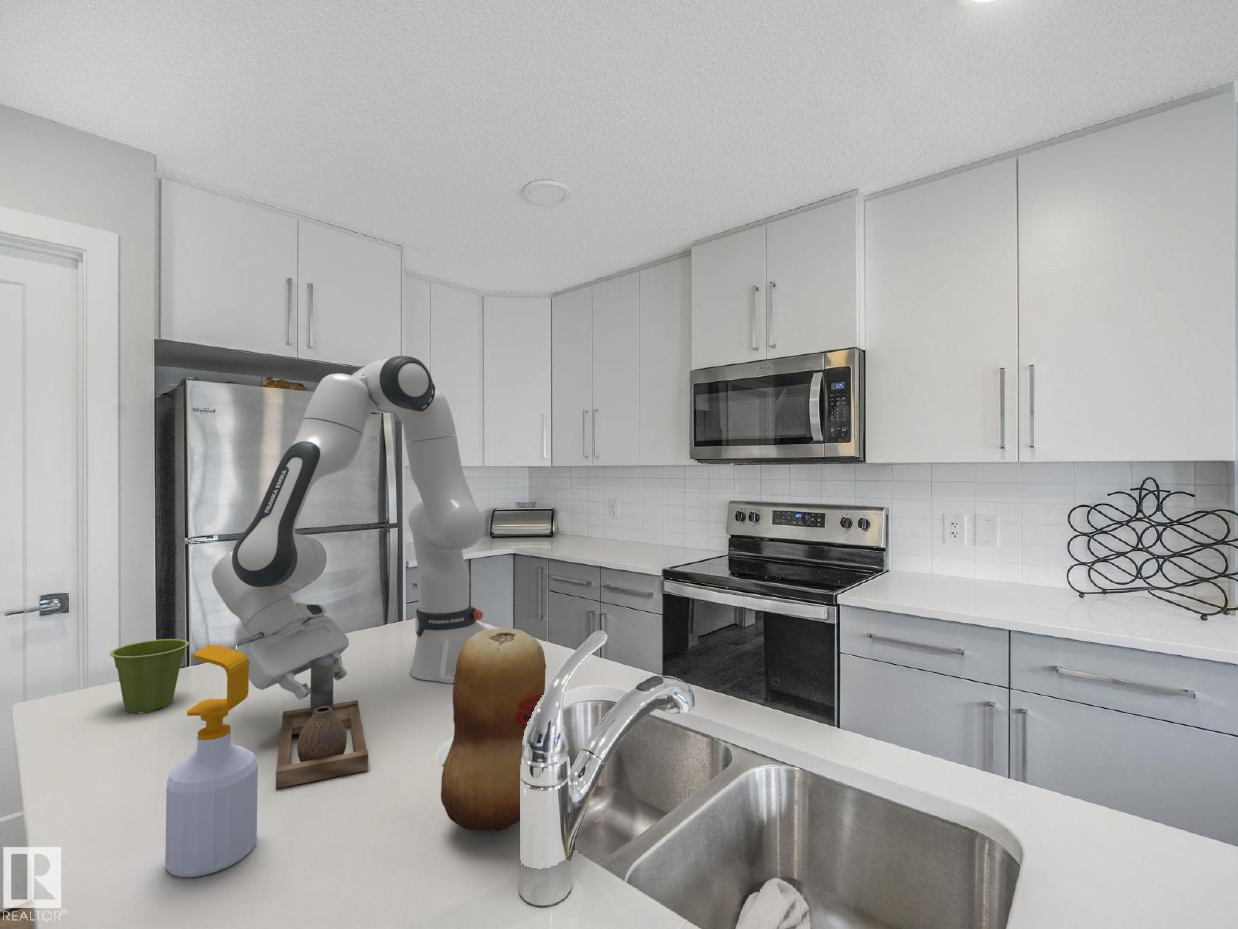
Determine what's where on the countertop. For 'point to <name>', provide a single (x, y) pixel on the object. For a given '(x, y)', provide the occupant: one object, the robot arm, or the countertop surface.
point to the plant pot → (149, 673)
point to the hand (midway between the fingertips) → (324, 686)
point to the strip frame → (299, 717)
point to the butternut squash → (491, 727)
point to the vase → (322, 736)
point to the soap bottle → (213, 784)
